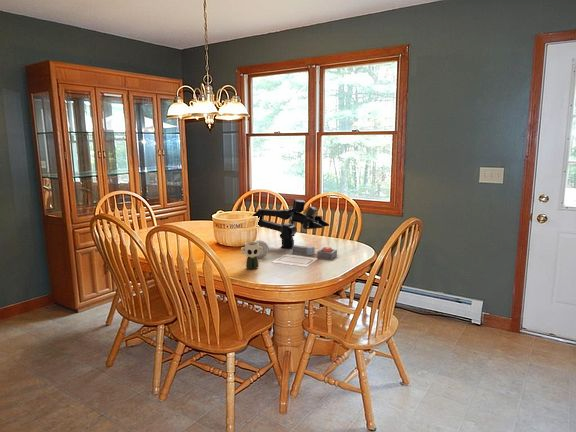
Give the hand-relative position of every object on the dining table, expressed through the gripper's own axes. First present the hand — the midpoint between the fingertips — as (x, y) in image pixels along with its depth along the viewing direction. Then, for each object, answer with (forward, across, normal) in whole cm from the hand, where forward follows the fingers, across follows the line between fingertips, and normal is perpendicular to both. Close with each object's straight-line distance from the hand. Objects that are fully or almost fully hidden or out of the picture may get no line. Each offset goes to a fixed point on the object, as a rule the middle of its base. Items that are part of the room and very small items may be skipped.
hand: (325, 226), depth 242 cm
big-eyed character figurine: (-17, -43, +22) cm, 52 cm away
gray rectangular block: (-8, -6, +18) cm, 20 cm away
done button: (+7, -6, +14) cm, 17 cm away
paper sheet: (-5, -21, +18) cm, 28 cm away
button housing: (+7, -6, +15) cm, 18 cm away
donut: (-24, -26, +22) cm, 42 cm away
